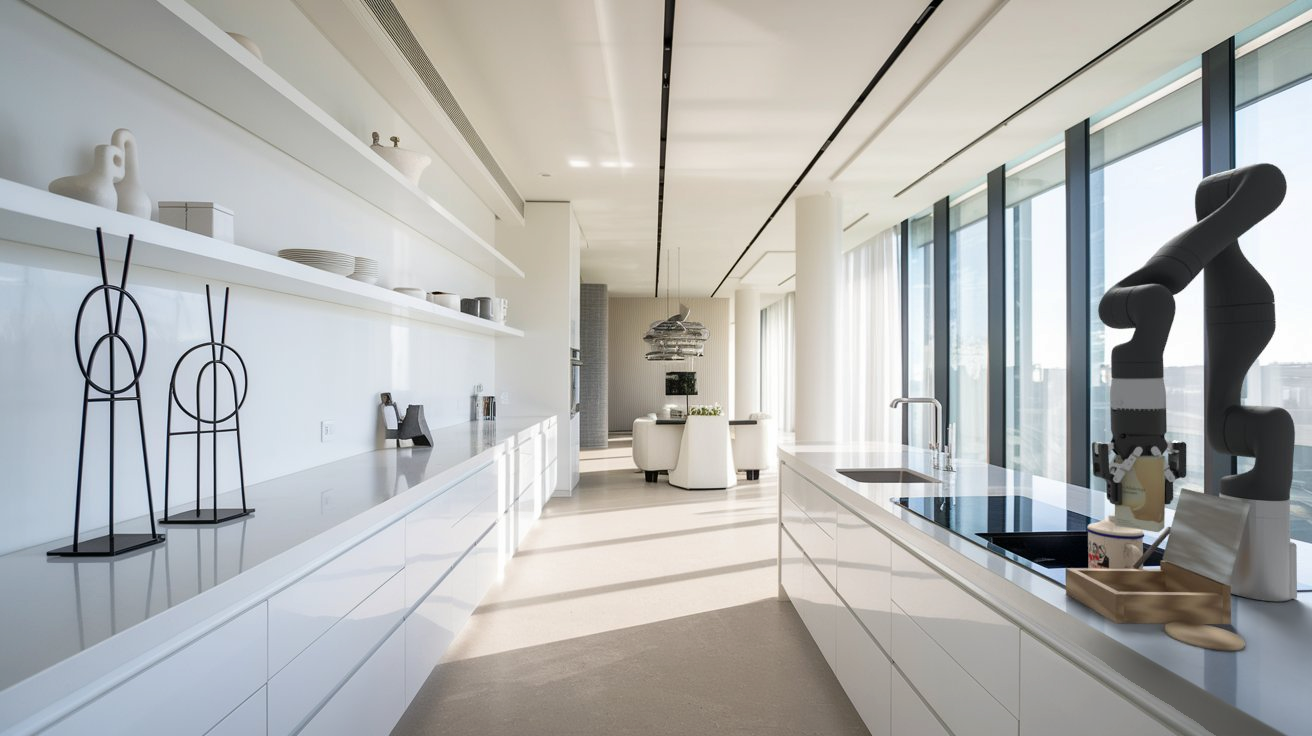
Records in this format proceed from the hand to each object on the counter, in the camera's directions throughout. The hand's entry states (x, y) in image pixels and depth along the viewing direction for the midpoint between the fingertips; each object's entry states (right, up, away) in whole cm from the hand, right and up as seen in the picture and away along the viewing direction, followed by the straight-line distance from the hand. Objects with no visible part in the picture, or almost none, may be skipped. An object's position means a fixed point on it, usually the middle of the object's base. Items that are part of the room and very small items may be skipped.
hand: (1139, 503), depth 108 cm
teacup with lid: (+8, -18, +15) cm, 25 cm away
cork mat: (0, -17, -12) cm, 21 cm away
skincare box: (0, -4, 0) cm, 4 cm away
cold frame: (+2, -17, 0) cm, 17 cm away
